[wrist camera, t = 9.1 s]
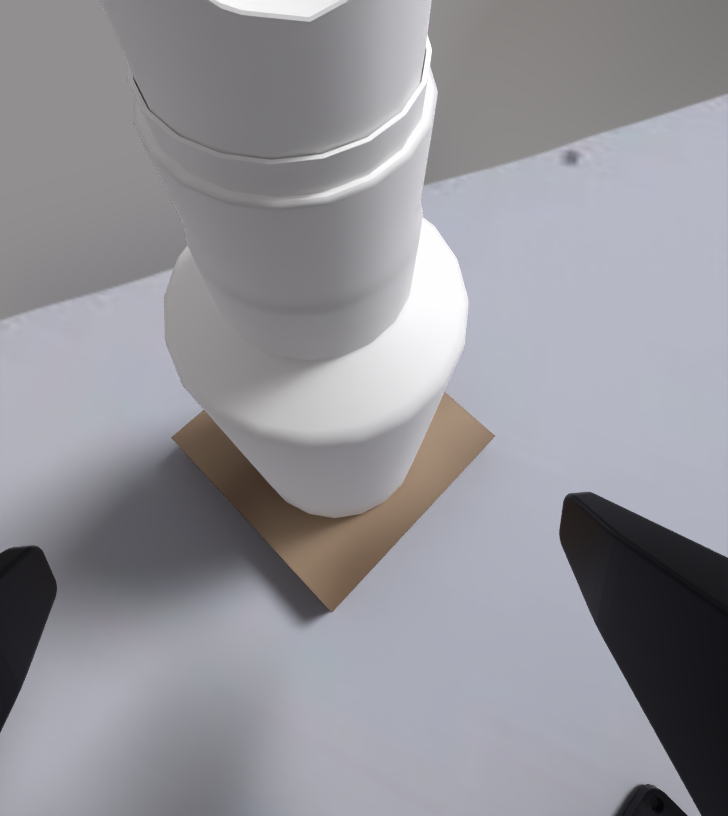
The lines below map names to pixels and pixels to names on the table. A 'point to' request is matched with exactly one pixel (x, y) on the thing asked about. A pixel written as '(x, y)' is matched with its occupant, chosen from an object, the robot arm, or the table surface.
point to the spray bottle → (301, 231)
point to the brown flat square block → (345, 536)
